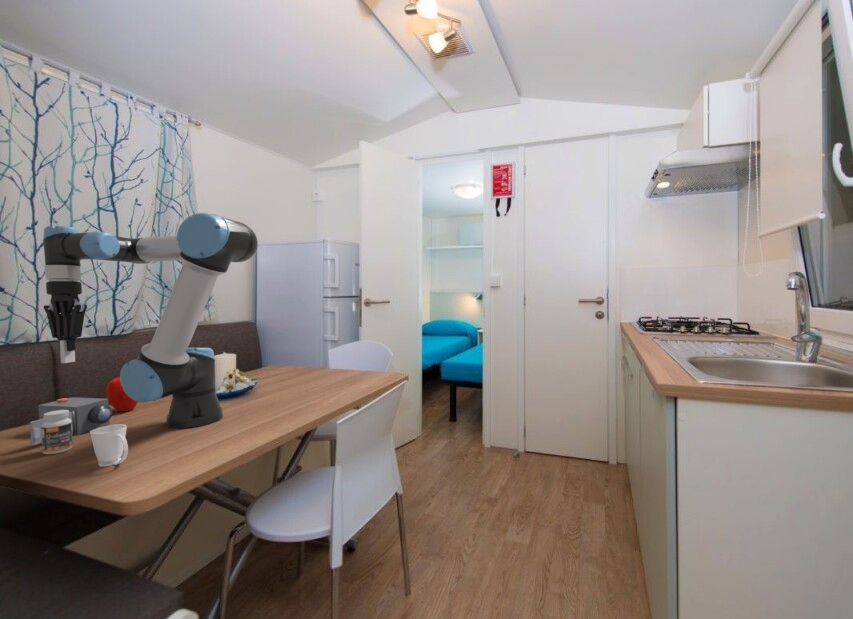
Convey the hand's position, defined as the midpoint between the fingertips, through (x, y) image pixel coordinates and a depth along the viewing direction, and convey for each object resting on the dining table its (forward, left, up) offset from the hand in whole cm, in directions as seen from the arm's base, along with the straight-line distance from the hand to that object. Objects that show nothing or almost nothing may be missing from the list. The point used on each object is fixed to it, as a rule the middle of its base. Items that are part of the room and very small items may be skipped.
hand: (68, 362), depth 114 cm
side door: (-5, +7, -20) cm, 22 cm away
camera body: (+1, -2, -20) cm, 21 cm away
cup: (-35, +16, -21) cm, 44 cm away
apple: (+5, -20, -21) cm, 29 cm away
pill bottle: (-13, +12, -21) cm, 27 cm away
